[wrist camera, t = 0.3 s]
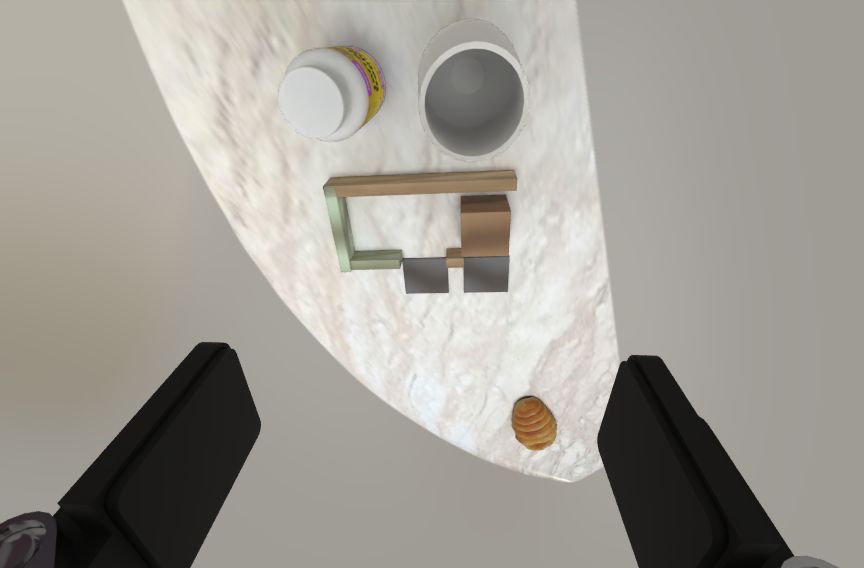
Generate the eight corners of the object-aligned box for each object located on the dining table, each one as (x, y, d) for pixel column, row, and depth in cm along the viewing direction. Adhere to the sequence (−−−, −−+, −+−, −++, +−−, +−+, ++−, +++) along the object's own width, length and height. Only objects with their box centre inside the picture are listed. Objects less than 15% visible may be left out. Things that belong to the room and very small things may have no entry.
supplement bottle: (400, 86, 38) (377, 108, 27) (356, 135, 41) (320, 172, 30) (348, 27, 36) (300, 25, 25) (305, 83, 39) (245, 102, 28)
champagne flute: (444, 11, 35) (424, -20, 15) (513, 40, 36) (585, 49, 15) (420, 90, 38) (378, 154, 18) (484, 115, 39) (511, 202, 19)
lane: (330, 177, 43) (322, 186, 41) (513, 170, 42) (517, 178, 39) (353, 293, 52) (348, 306, 49) (507, 290, 50) (509, 304, 48)
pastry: (502, 399, 61) (505, 419, 58) (546, 389, 60) (551, 409, 57) (517, 435, 66) (520, 456, 63) (558, 428, 64) (563, 448, 61)
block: (460, 196, 44) (460, 213, 40) (505, 194, 44) (510, 211, 39) (461, 236, 47) (461, 256, 42) (504, 235, 46) (508, 255, 42)
